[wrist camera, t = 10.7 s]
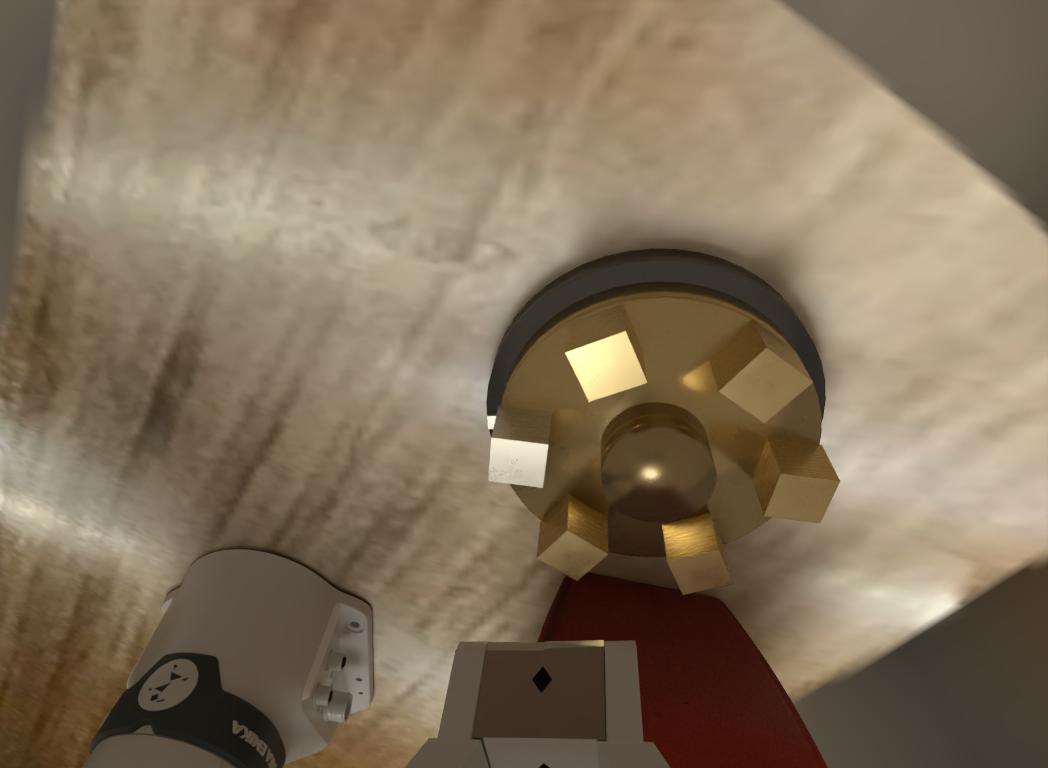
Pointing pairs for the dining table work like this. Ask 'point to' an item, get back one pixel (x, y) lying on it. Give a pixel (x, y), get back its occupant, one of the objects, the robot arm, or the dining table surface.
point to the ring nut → (660, 430)
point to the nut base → (639, 270)
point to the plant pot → (689, 674)
